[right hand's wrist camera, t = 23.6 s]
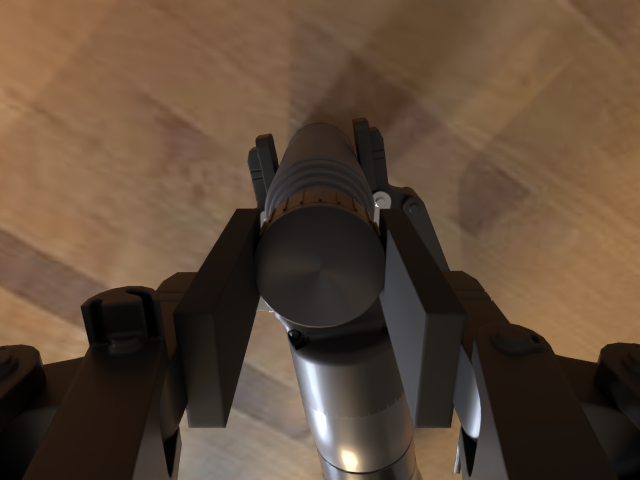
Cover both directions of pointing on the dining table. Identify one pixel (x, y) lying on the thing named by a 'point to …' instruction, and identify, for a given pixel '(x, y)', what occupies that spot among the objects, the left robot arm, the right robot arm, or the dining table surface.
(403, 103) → the dining table surface
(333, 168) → the bottle
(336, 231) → the cap
